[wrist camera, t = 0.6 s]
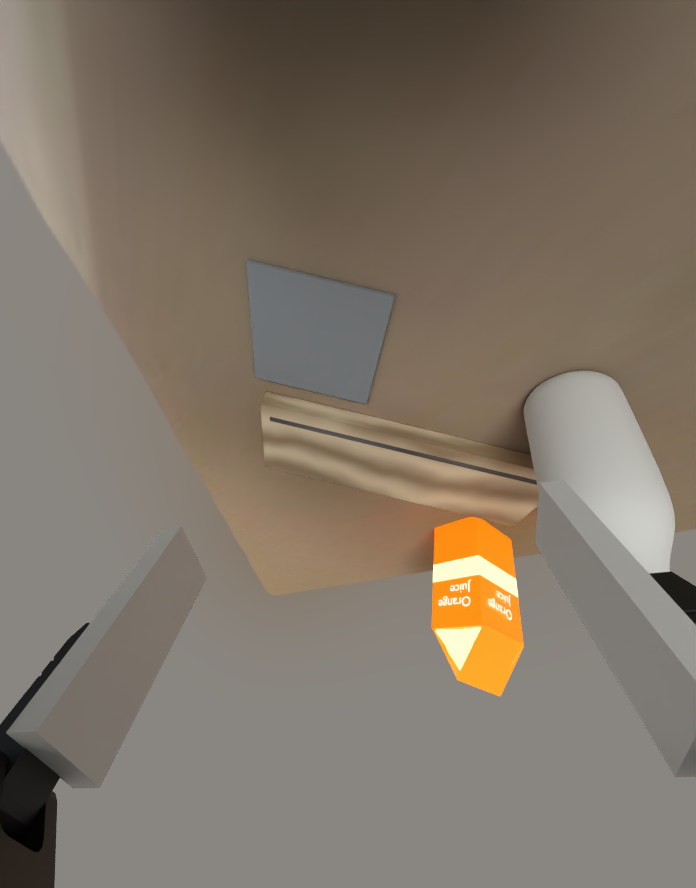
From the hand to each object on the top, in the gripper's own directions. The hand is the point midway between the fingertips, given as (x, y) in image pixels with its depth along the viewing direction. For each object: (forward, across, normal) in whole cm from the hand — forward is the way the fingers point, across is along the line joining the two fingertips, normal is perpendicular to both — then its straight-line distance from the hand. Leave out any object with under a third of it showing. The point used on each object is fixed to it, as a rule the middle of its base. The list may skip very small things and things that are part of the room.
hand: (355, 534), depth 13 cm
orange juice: (+33, +12, -31) cm, 46 cm away
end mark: (+23, -4, +3) cm, 23 cm away
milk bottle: (+22, +18, -6) cm, 29 cm away
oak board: (+28, +3, -13) cm, 31 cm away
